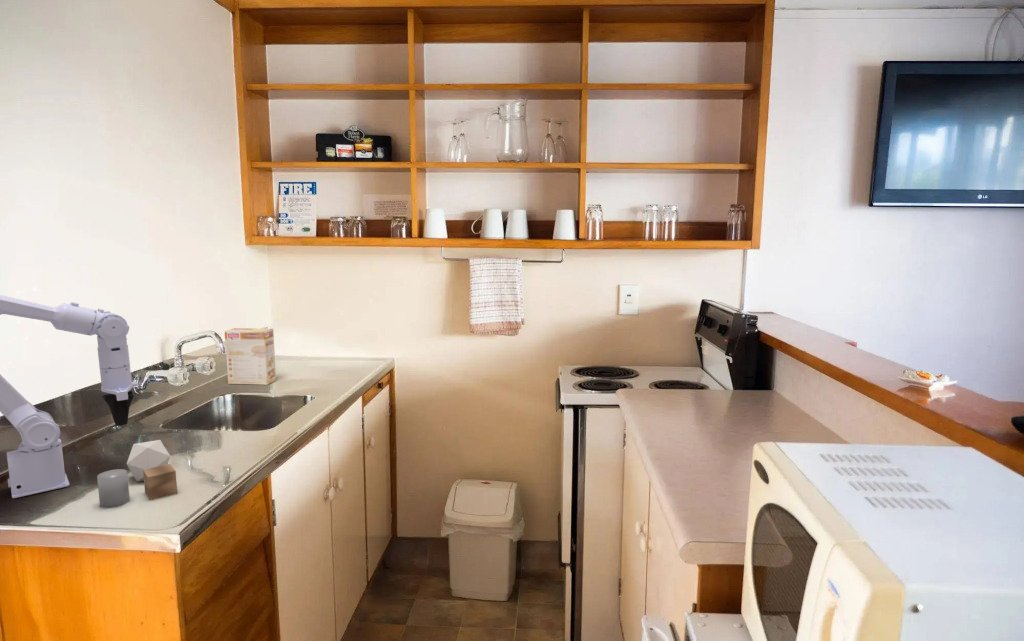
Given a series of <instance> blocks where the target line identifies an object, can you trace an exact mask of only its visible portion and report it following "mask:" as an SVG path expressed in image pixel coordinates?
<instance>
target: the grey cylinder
mask: <svg viewBox="0 0 1024 641" xmlns="http://www.w3.org/2000/svg"><path fill="white" fill-rule="evenodd" d="M96 479H97V489H98V498H99V499H98V500H99V501H98V502H99V506H100V508H103V509H114V508H117V507H121V506H123V505H126V504H127V503H129V501H130V498H131V497H130V489H129V478H128V470H126V469H123V468H116V469H110V470H106V471H103V472H101V473H99V474H98V475H96Z"/></svg>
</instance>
